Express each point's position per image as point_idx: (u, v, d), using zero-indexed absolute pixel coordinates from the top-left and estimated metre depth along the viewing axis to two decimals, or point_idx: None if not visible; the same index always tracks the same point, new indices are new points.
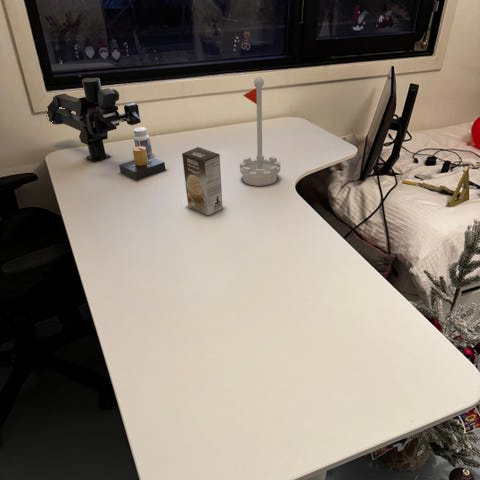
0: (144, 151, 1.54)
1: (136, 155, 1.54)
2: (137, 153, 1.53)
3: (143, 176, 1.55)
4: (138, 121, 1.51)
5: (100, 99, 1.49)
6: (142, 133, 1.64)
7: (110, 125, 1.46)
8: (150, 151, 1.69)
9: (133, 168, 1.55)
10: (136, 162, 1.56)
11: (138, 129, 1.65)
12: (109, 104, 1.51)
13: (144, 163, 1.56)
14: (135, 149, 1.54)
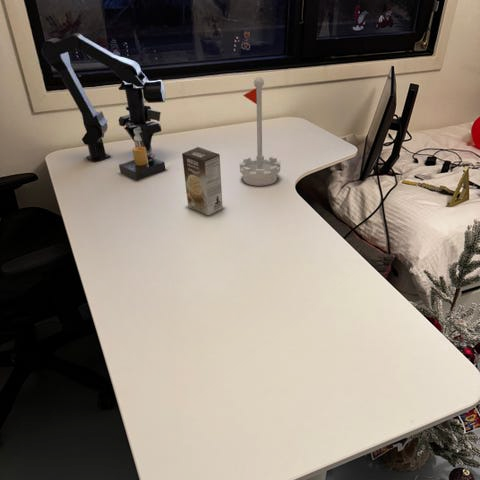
0: (144, 151, 1.54)
1: (136, 155, 1.54)
2: (137, 153, 1.53)
3: (143, 176, 1.55)
4: None
5: (156, 115, 1.64)
6: None
7: (149, 145, 1.66)
8: (150, 151, 1.69)
9: (133, 168, 1.55)
10: (136, 162, 1.56)
11: (138, 129, 1.65)
12: None
13: (144, 163, 1.56)
14: (135, 149, 1.54)
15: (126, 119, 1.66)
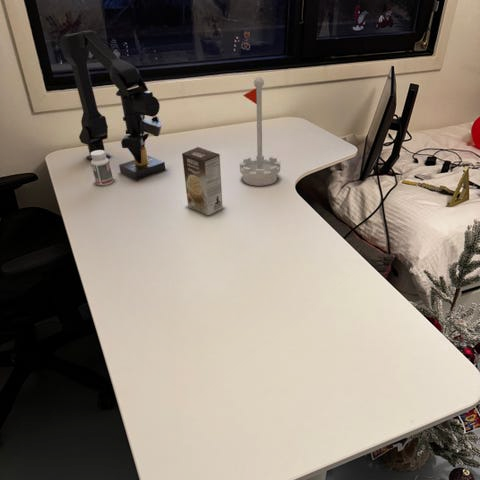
0: (144, 151, 1.54)
1: None
2: None
3: (143, 176, 1.55)
4: None
5: (152, 129, 1.48)
6: (100, 157, 1.46)
7: (139, 158, 1.53)
8: (110, 176, 1.51)
9: (133, 168, 1.55)
10: (136, 162, 1.56)
11: (95, 152, 1.47)
12: None
13: (144, 163, 1.56)
14: None
15: None
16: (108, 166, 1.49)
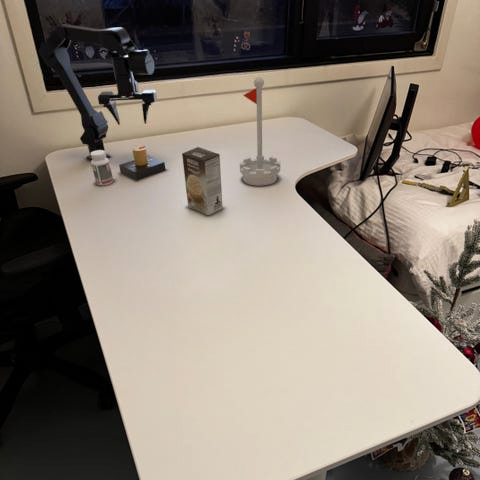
0: None
1: (145, 153, 1.55)
2: (145, 150, 1.55)
3: (143, 176, 1.55)
4: (119, 122, 1.59)
5: (137, 86, 1.58)
6: (100, 157, 1.46)
7: (146, 117, 1.59)
8: (110, 176, 1.51)
9: (133, 168, 1.55)
10: (145, 161, 1.56)
11: (95, 152, 1.47)
12: None
13: None
14: (141, 149, 1.54)
15: (109, 95, 1.53)
16: (108, 166, 1.49)
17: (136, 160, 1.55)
